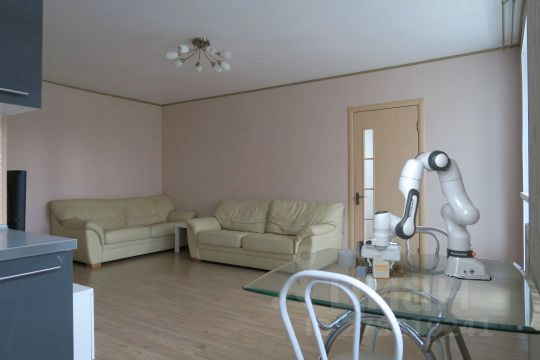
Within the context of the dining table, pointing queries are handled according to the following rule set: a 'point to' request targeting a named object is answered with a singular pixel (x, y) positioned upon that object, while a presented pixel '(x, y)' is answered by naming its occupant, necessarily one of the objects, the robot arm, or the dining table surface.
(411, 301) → the dining table surface
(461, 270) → the robot arm
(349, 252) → the lumpy-topped squat cylinder
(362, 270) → the slate block
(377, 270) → the supplement box
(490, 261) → the dining table surface
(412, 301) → the dining table surface
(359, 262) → the coffee box
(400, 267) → the walnut block
